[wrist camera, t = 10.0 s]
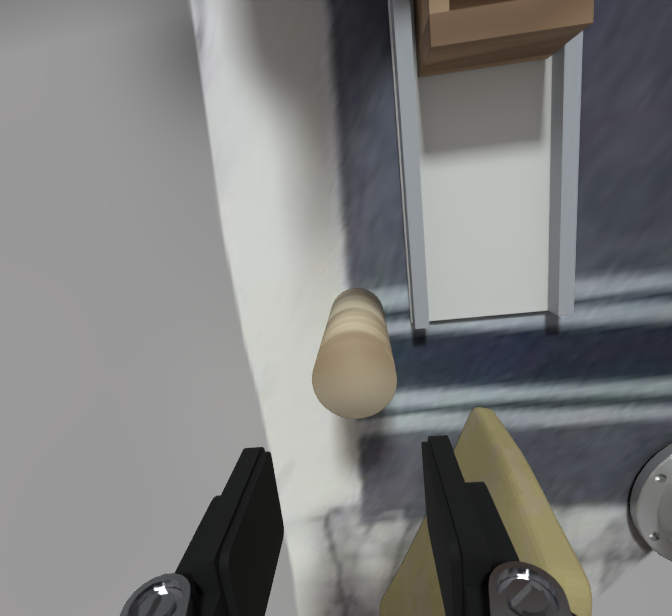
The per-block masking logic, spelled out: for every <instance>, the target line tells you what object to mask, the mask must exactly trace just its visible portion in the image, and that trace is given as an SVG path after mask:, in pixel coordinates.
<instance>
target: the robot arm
mask: <svg viewBox="0 0 672 616" xmlns="http://www.w3.org/2000/svg"><path fill="white" fill-rule="evenodd" d="M422 458H423V473H424V487H425V501H426V516H427V525H428V532H429V537H430V542H431V547H432V551H433V556H434V561H435V566H436V571H437V576H438V581H439V586H440V591H441V596H442V600H443V605H444V610H445V615H446V616H577V615H576V614H574V613H572V612H571V610H570V606H569V602H568V599H567V597H566V594H565V592H564V590H563V588H562V587H561V586H560V584H559V583H558V582H557V581H556V579H555V578H554V577H552V576H551V575H550V574H549V573H547V572H546V571H545V570H543V569H541V568H539V567H537V566H535V565H533V564H529V563H525V562H520V560H519V558H518V555H517V553H516V551H515V549H514V546H513V544H512V542H511V540H510V537H509V535H508V533H507V531H506V528H505V526H504V524H503V522H502V519H501V517H500V515H499V513H498V510H497V508H496V506H495V504H494V501H493V499H492V497H491V495H490V492H489V490H488V488H487V486H486V484H485V483H484V482H465V480H464V478H463V475H462V472H461V470H460V467H459V464H458V462H457V459H456V456H455V454H454V451H453V448H452V446H451V443H450V440H449V438H448V436H447V435H443V436H428V442H422ZM630 513H631V516H632V520H633V523H634V525H635V527H636V529H637V531H638V532H639V534H640V535H641V536H642V538H643V539H644V540H645V541H646V542H647V543H648V545H649V546H650V547H651V548H652V549H653V550H655V551H656V552H657V553H658V554H659V555H661V556H663V557H665V558H666V559H668V560H670V561H672V443H671V444H669V445H668V446H667V447H665V448H664V449H662V450H661V451H660V452H658V453H657V454H656V455H655V456H654V457H653V458H652V459H651V460H650V461H649V462H648V463H647V464H646V465H645V467H644V468H643V470H642V471H641V472H640V474H639V475H638V477H637V479H636V482H635V484H634V486H633V489H632V494H631V499H630ZM283 535H284V526H283V519H282V514H281V508H280V502H279V497H278V491H277V485H276V480H275V474H274V468H273V463H272V457H271V453H270V452H265V450H264V448H263V447H256V448H245V449H244V450H243V451H242V453H241V456H240V458H239V460H238V462H237V464H236V466H235V468H234V470H233V472H232V474H231V476H230V478H229V480H228V482H227V484H226V486H225V488H224V490H223V492H222V495H221V496H216V497H214V498H213V500H212V501H211V503H210V505H209V507H208V509H207V511H206V513H205V515H204V517H203V519H202V521H201V523H200V524H199V526H198V528H197V530H196V532H195V534H194V536H193V539H192V540H191V542H190V544H189V546H188V548H187V550H186V552H185V554H184V556H183V558H182V560H181V562H180V564H179V566H178V568H177V570H176V571H175V573H172V574H163V575H161V576H158V577H155V578H153V579H151V580H150V581H148V582H146V583H144V584H143V585H142V586H141V587H140V588H138V589H137V590H136V591H135V592H134V593H133V594H132V596H131V597H130V598H129V599H128V600H127V602H126V604H125V605H124V607H123V609H122V611H121V614H120V616H265V612H266V608H267V604H268V599H269V595H270V591H271V587H272V583H273V578H274V574H275V570H276V566H277V562H278V557H279V553H280V548H281V545H282V541H283Z"/></svg>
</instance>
